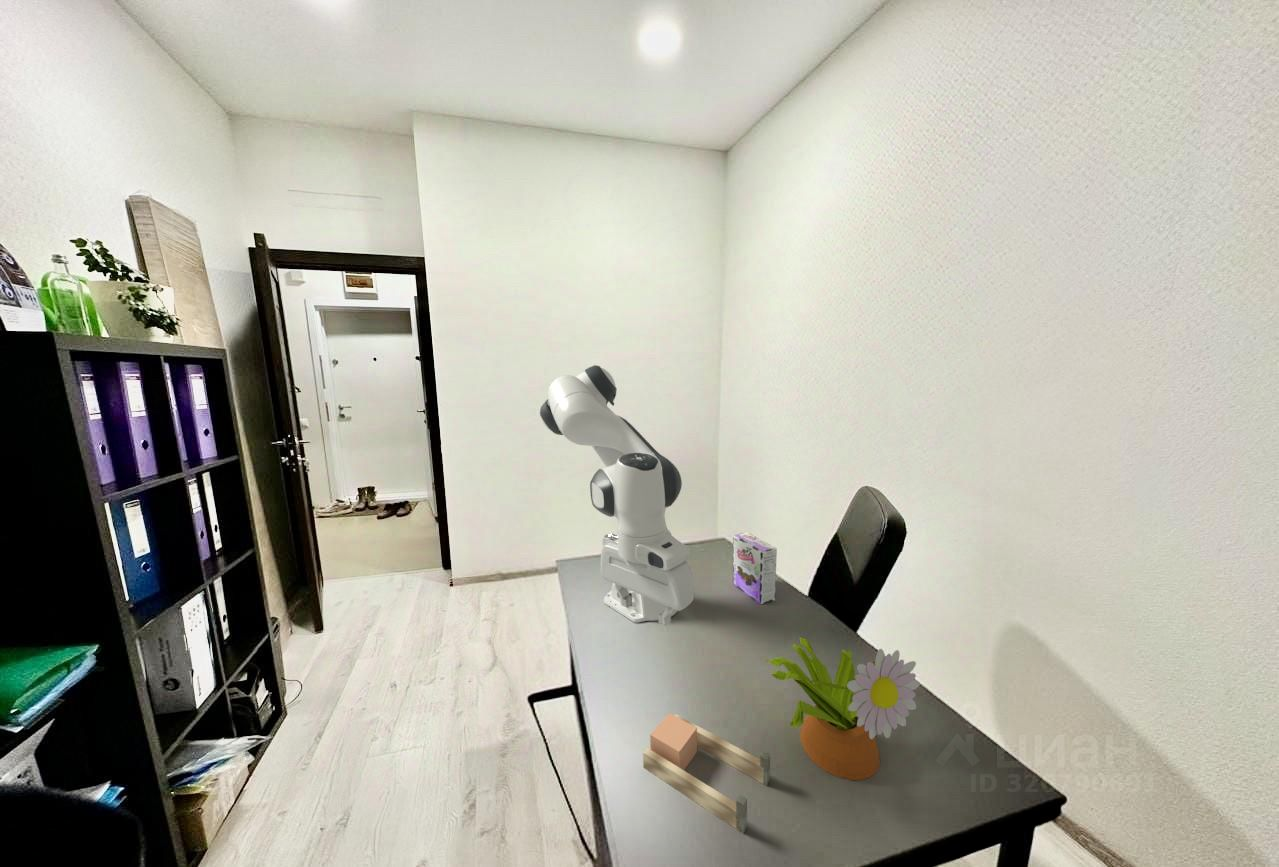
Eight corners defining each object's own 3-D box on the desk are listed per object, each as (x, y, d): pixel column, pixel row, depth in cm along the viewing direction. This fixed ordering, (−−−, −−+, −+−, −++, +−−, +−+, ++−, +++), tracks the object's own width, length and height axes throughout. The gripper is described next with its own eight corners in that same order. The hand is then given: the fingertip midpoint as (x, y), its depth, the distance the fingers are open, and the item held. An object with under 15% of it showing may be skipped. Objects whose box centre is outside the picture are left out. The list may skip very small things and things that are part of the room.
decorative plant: (821, 827, 66) (828, 677, 62) (741, 708, 89) (742, 594, 85) (957, 776, 73) (971, 639, 69) (851, 679, 96) (856, 572, 92)
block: (650, 759, 78) (650, 734, 78) (669, 736, 83) (668, 712, 82) (679, 777, 75) (679, 751, 74) (697, 752, 80) (696, 727, 79)
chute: (643, 767, 77) (642, 742, 76) (675, 727, 85) (675, 704, 84) (743, 833, 65) (743, 804, 65) (769, 780, 74) (770, 754, 73)
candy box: (731, 583, 139) (732, 534, 136) (747, 579, 141) (747, 531, 139) (760, 605, 126) (760, 551, 124) (776, 600, 129) (777, 547, 126)
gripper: (590, 535, 84) (594, 602, 87) (675, 564, 71) (677, 643, 73) (614, 526, 89) (617, 589, 91) (698, 551, 75) (699, 625, 77)
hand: (644, 613), depth 82 cm, fingers open, 8 cm apart
